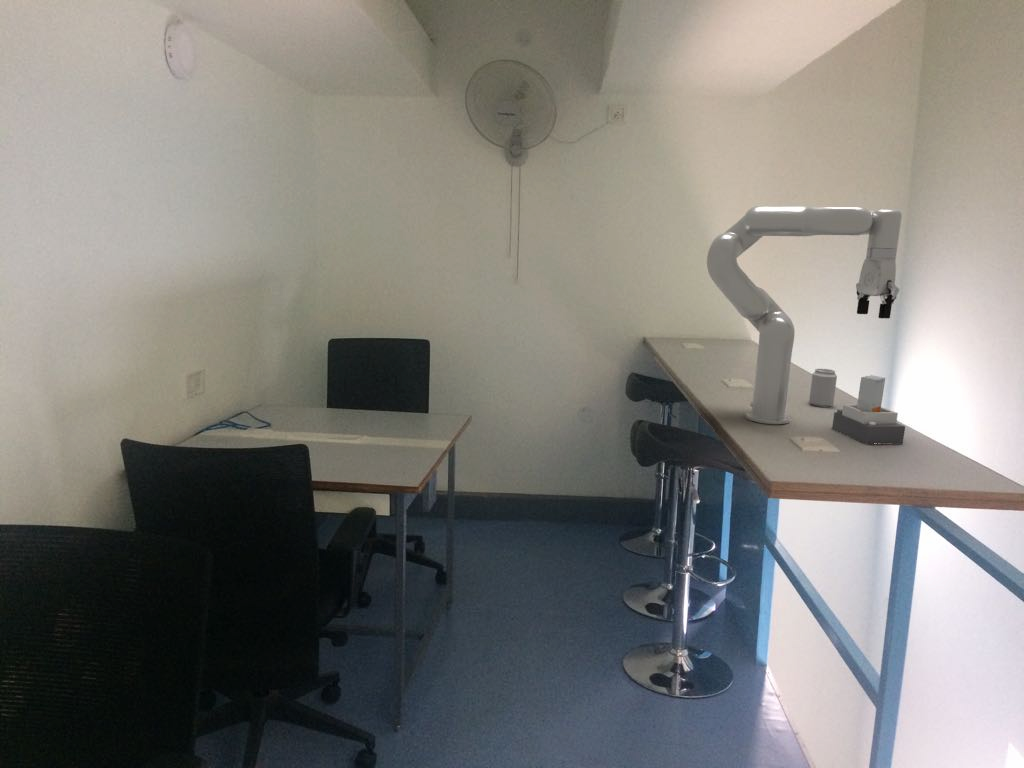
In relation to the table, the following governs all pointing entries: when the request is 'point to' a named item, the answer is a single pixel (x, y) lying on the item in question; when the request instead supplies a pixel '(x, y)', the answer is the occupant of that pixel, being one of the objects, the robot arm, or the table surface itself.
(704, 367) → the table surface
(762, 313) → the robot arm
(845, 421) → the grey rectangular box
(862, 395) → the skincare box
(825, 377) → the can
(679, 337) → the table surface
